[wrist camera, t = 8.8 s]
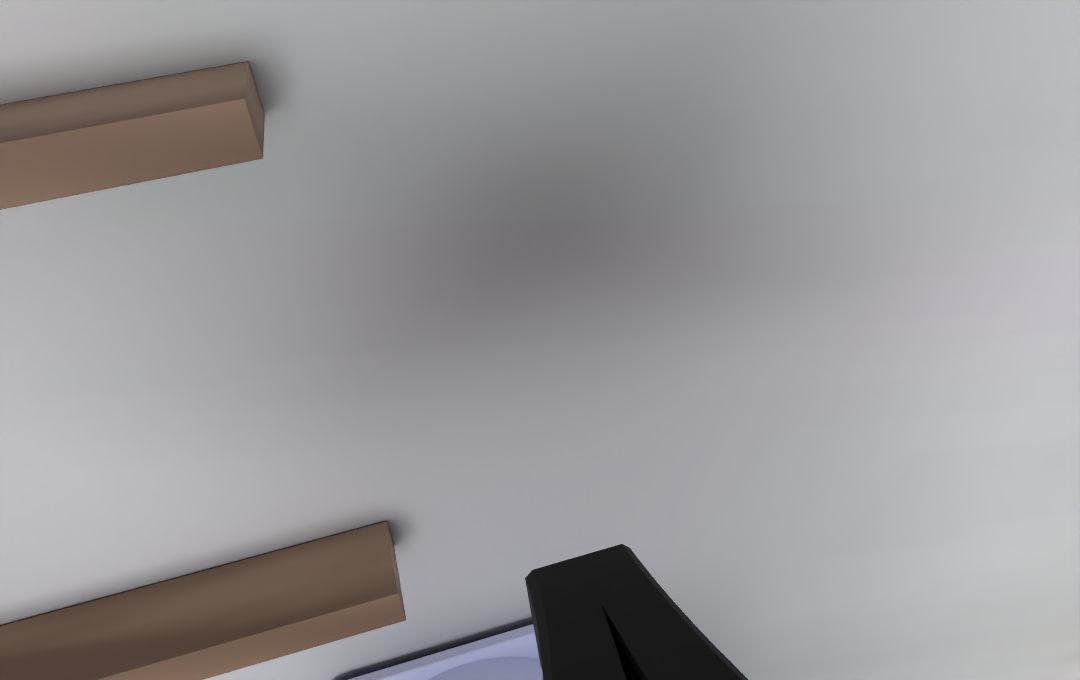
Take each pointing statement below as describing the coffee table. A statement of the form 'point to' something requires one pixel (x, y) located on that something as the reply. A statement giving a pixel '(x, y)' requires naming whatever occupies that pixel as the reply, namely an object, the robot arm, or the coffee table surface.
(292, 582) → the chute
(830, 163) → the coffee table surface
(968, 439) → the coffee table surface
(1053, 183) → the coffee table surface
